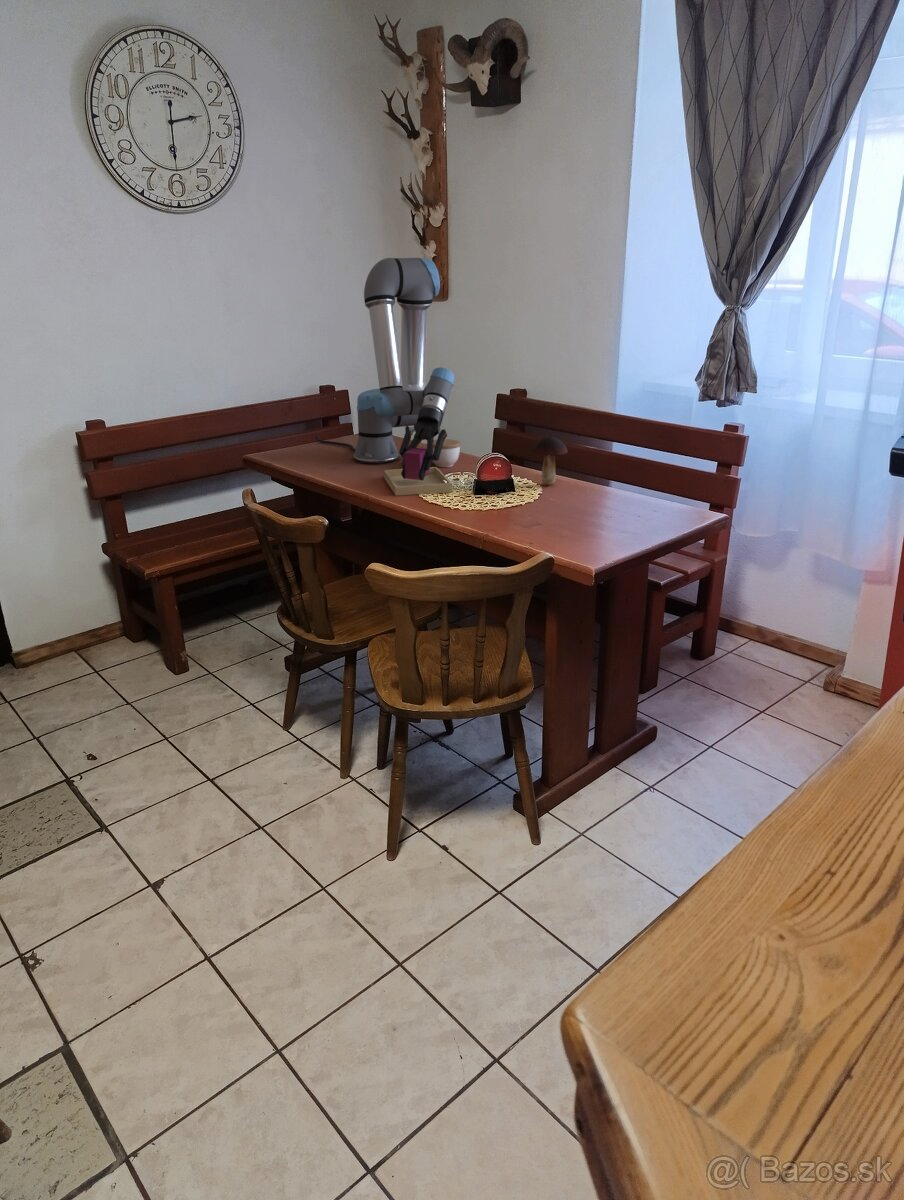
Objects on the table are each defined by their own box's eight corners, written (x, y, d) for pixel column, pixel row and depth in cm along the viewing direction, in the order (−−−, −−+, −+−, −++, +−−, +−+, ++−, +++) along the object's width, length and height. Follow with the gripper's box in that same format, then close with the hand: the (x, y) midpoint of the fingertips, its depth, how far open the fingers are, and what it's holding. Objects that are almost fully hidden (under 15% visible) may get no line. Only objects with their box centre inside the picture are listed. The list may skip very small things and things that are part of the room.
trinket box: (437, 470, 268) (437, 442, 264) (423, 463, 276) (422, 436, 273) (465, 466, 272) (466, 438, 268) (451, 460, 281) (451, 433, 277)
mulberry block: (413, 473, 254) (413, 447, 250) (428, 474, 252) (428, 449, 249) (404, 478, 248) (404, 452, 244) (420, 480, 246) (419, 454, 243)
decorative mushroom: (570, 488, 246) (573, 439, 240) (536, 490, 244) (538, 441, 238) (558, 479, 256) (561, 432, 250) (525, 481, 254) (527, 433, 248)
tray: (384, 478, 258) (383, 470, 257) (436, 474, 262) (436, 467, 261) (395, 495, 239) (395, 487, 238) (452, 492, 243) (452, 483, 242)
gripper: (401, 404, 253) (381, 468, 246) (456, 407, 248) (436, 473, 240) (408, 418, 260) (388, 480, 252) (461, 422, 254) (442, 486, 247)
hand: (412, 477), depth 246 cm, fingers closed on mulberry block, 5 cm apart
